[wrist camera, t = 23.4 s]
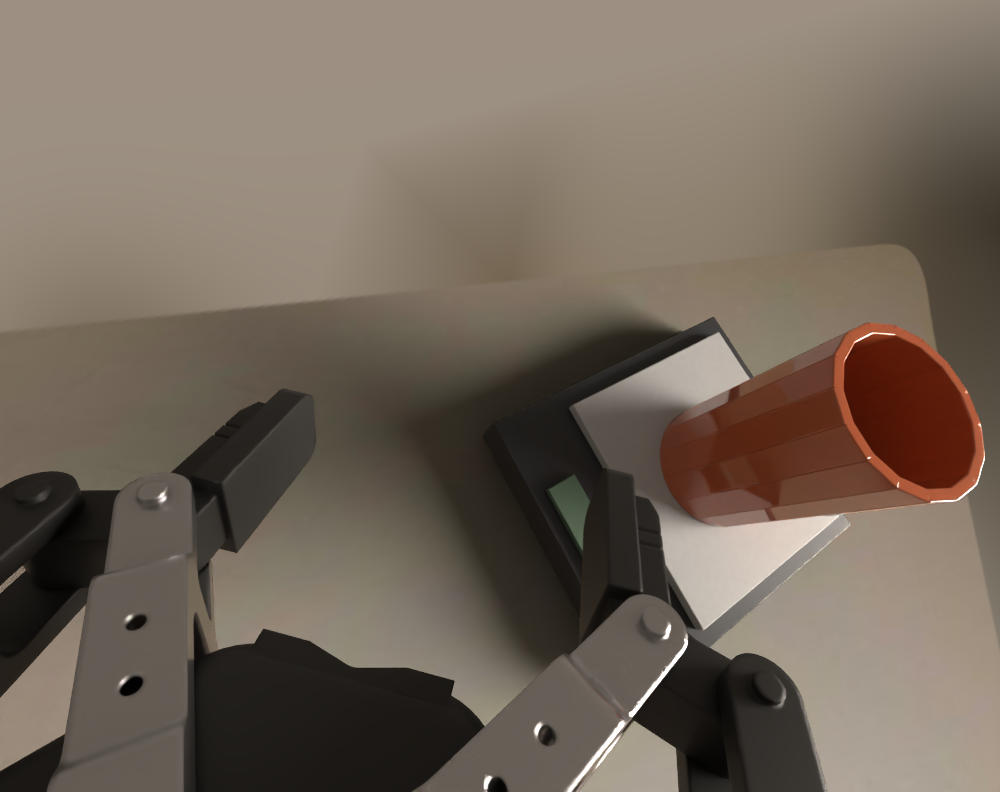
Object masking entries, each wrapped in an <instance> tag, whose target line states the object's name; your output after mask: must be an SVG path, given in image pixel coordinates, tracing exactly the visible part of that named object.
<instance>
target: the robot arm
mask: <svg viewBox="0 0 1000 792" xmlns="http://www.w3.org/2000/svg"><path fill="white" fill-rule="evenodd" d="M315 444H316V429H315V413H314V400H313V397H312V396H311V395H309V394H305V393H301V392H296V391H292V390H288V389H281V390H279V391H278V392H277V393H276V394H275V395H274V396H273V397H272V398H271V399H270V400H269V401H267V402H266V403H262V402H257V403H255V404H253V405H251V406H249V407H247V408H244V409H242V410H240V411H239V412H238V413H237V414H236V415H234V416H233V417H232V418H231V419H230V420H229V421H228V422H227V423H226V425H225V426H224V425H223V426H222V427H221V428H220V429H219V430H218V431H217V432H215V435H214V436H211V437H210V438H209V439H208V440H207V441H205V442H204V443H203V444H202V445H201V446H200V447H199V448H198V449H197V450H195V451H194V452H193V453H192V454H191V455H190V456H189V457H188V458H187V459H185V460H184V461H183V462H182V463H181V464H180V465H179V466H178V467H177V468H175V469H174V470H173V471H172V472H171V473H156V474H151V475H147V476H144V477H141V478H139V479H137V480H135V481H133V482H131V483H129V484H128V485H127V486H125V487H124V488H123V489H122V490H99V491H80V488H79V486H78V484H77V482H76V480H75V478H74V477H73V476H71V475H69V474H67V473H63V472H53V471H50V472H41V473H35V474H31V475H28V476H25V477H22V478H19V479H17V480H14V481H12V482H10V483H9V484H7V485H5V486H4V487H2V488H1V489H0V585H1V584H2V583H3V582H5V581H6V580H7V579H8V578H9V577H10V576H11V575H12V574H14V573H15V572H16V571H17V570H18V569H19V568H20V567H21V566H22V565H23V566H24V568H25V570H26V571H25V572H24V573H23V574H21V575H20V576H19V577H18V578H17V579H16V580H15V581H14V582H13V583H12V584H10V585H9V586H8V587H7V588H6V589H5V590H4V591H3V592H2V593H1V594H0V697H1V696H2V695H3V694H4V693H5V692H6V691H7V690H8V689H9V687H10V686H11V685H12V684H13V683H14V682H15V681H16V680H17V679H18V678H19V676H20V675H21V674H22V673H23V672H24V671H25V670H26V669H27V668H28V667H29V666H30V664H31V663H32V662H33V661H34V660H35V659H36V658H37V657H38V656H39V655H40V654H41V652H42V651H43V650H44V649H45V648H46V647H47V646H48V645H49V644H50V643H51V642H52V640H53V639H54V638H55V637H56V636H57V635H58V634H59V633H60V632H61V631H62V629H63V628H64V627H65V626H66V625H67V624H68V623H69V622H70V621H71V620H72V619H73V617H74V616H75V615H76V614H77V613H78V612H79V611H80V610H81V609H82V608H83V607H84V605H85V604H86V603H87V604H86V610H85V616H84V622H83V628H82V634H81V640H80V647H79V653H78V659H77V665H76V671H75V677H74V683H73V689H72V696H71V702H70V708H69V714H68V720H67V726H66V732H65V734H64V735H62V736H61V737H59V738H57V739H55V740H54V741H52V742H50V743H48V744H47V745H45V746H43V747H42V748H40V749H38V750H36V751H35V752H33V753H31V754H29V755H28V756H26V757H24V758H22V759H21V760H19V761H17V762H15V763H14V764H12V765H10V766H9V767H7V768H5V769H3V770H2V771H0V792H579V791H580V790H581V788H582V787H583V786H584V784H585V783H586V782H587V780H588V779H589V778H590V776H591V775H592V774H593V773H594V771H595V770H596V769H597V768H598V766H599V765H600V764H601V762H602V761H603V760H604V759H605V757H606V756H607V755H608V754H609V752H610V751H611V750H612V749H613V747H614V746H615V745H616V743H617V742H618V741H619V740H620V738H621V737H622V736H623V735H624V733H625V732H626V731H627V729H628V728H629V727H630V726H631V724H632V723H633V722H634V721H636V722H637V723H639V724H640V725H642V726H643V727H645V728H646V729H648V730H649V731H651V732H652V733H654V734H655V735H657V736H658V737H660V738H661V739H663V740H665V741H666V742H668V743H669V744H671V745H672V746H674V747H675V748H676V754H677V770H678V787H679V792H828V790H827V786H826V783H825V779H824V775H823V772H822V768H821V765H820V761H819V757H818V754H817V750H816V746H815V743H814V739H813V735H812V732H811V728H810V724H809V721H808V717H807V714H806V710H805V706H804V703H803V700H802V697H801V694H800V692H799V690H798V688H797V687H796V685H795V684H794V682H793V681H792V680H791V678H790V677H789V676H788V675H787V674H786V673H785V672H784V671H783V670H782V669H781V668H780V667H779V666H777V665H776V664H775V663H773V662H772V661H770V660H768V659H766V658H764V657H762V656H759V655H756V654H751V653H744V654H740V655H737V656H736V657H735V658H733V660H730V659H728V658H727V657H725V656H723V655H721V654H720V653H718V652H716V651H714V650H713V649H711V648H709V647H707V646H706V645H704V644H702V643H701V642H699V641H698V640H696V639H695V638H694V637H693V636H691V635H690V634H689V633H688V632H687V630H686V626H685V624H684V622H683V620H682V619H681V617H680V616H679V614H678V613H677V612H676V611H675V610H674V609H673V608H672V605H671V600H670V592H669V585H668V578H667V570H666V563H665V556H664V550H663V541H662V536H661V526H660V519H659V515H658V513H657V511H656V509H655V508H654V506H653V504H652V503H651V501H650V499H648V498H644V497H640V496H636V495H635V486H634V477H633V475H632V474H629V473H625V472H621V471H617V470H613V469H609V468H604V469H603V470H602V473H601V475H600V478H599V480H598V483H597V485H596V488H595V491H594V493H593V496H592V499H591V501H590V504H589V506H588V509H587V513H586V517H585V522H584V530H583V554H582V580H581V605H580V630H579V645H580V646H579V647H578V648H576V649H575V650H574V651H573V652H572V653H571V654H569V655H568V654H567V653H564V654H562V655H561V656H559V657H558V658H557V659H555V660H554V661H553V662H552V663H551V664H550V665H549V666H548V667H547V668H546V669H545V670H544V671H543V672H542V673H541V674H540V675H539V676H537V677H536V678H535V679H534V680H533V681H532V682H531V683H530V684H529V685H528V686H527V687H526V688H525V689H524V690H523V691H522V692H521V693H520V694H519V695H518V696H516V697H515V698H514V699H513V700H512V701H511V702H510V703H509V704H508V705H507V706H506V707H505V708H504V709H503V710H502V711H501V712H500V713H499V714H498V715H497V716H495V717H494V718H493V719H492V720H491V721H490V722H489V723H488V724H487V725H486V726H484V725H483V724H482V722H481V721H480V719H479V718H478V717H477V716H476V715H475V714H474V713H473V712H472V711H471V710H470V709H469V708H468V707H467V706H466V705H464V704H463V703H462V702H461V701H459V700H458V699H456V698H454V697H453V696H451V694H452V690H453V685H454V680H450V679H446V678H443V677H439V676H435V675H432V674H428V673H424V672H421V671H417V670H413V669H410V668H354V667H350V666H348V665H347V664H345V663H343V662H342V661H340V660H339V659H337V658H336V657H334V656H332V655H331V654H329V653H328V652H326V651H324V650H323V649H321V648H320V647H318V646H316V645H315V644H313V643H312V642H310V641H307V640H303V639H300V638H296V637H292V636H289V635H285V634H281V633H278V632H274V631H270V630H267V629H263V630H262V632H261V634H260V635H259V637H258V638H257V640H256V642H255V643H254V644H243V645H236V646H231V647H227V648H223V649H220V650H218V646H217V640H216V633H215V618H214V597H213V577H212V563H211V558H212V557H213V556H214V554H215V553H216V552H217V551H218V549H219V548H220V549H223V550H227V551H231V552H235V553H237V552H238V551H239V550H240V548H241V547H242V546H243V545H244V543H245V542H246V541H247V539H248V538H249V537H250V536H251V534H252V533H253V532H254V530H255V529H256V528H257V527H258V525H259V524H260V523H261V522H262V520H263V519H264V518H265V516H266V515H267V514H268V513H269V511H270V510H271V509H272V507H273V506H274V505H275V504H276V502H277V501H278V500H279V498H280V497H281V496H282V495H283V493H284V492H285V491H286V489H287V488H288V487H289V486H290V484H291V483H292V482H293V480H294V479H295V478H296V477H297V475H298V474H299V473H300V471H301V470H302V469H303V468H304V466H305V465H306V464H307V463H308V461H309V460H310V458H311V456H312V454H313V452H314V448H315Z"/></svg>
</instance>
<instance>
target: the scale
mask: <svg viewBox="0 0 1000 792" xmlns="http://www.w3.org/2000/svg"><path fill="white" fill-rule="evenodd" d="M751 378H753V375H752V374H751V372H750V371H749V369H748V368H747V366H746V365H745V363H744V362H743V360H742V359H741V357H740V356H739V354H738V353H737V351H736V350H735V348H734V347H733V345H732V344H731V342H730V340H729V339H728V337H727V336H726V334H725V333H724V331H723V330H722V328H721V327H720V325H719V324H718V322H717V321H716V319H715V318H714V317H712V318H710V319H708V320H706V321H704V322H702V323H700V324H698V325H696V326H694V327H692V328H689V329H687V330H685V331H683V332H681V333H679V334H677V335H675V336H673V337H671V338H669V339H667V340H665V341H663V342H660V343H658V344H656V345H654V346H652V347H650V348H648V349H646V350H644V351H642V352H640V353H638V354H636V355H633V356H631V357H629V358H627V359H625V360H623V361H621V362H619V363H617V364H615V365H613V366H611V367H609V368H606V369H604V370H602V371H600V372H598V373H596V374H594V375H592V376H590V377H588V378H586V379H584V380H582V381H579V382H577V383H575V384H573V385H571V386H569V387H567V388H565V389H563V390H561V391H559V392H557V393H555V394H553V395H550V396H548V397H546V398H544V399H542V400H540V401H538V402H536V403H534V404H532V405H530V406H528V407H526V408H523V409H521V410H519V411H517V412H515V413H513V414H511V415H509V416H507V417H505V418H503V419H501V420H499V421H496V422H494V423H493V424H492V425H491V426H490V427H489V428H488V429H487V431H486V432H485V433H484V434H483V435H482V437H483V439H484V440H485V442H486V444H487V446H488V448H489V450H490V452H491V454H492V455H493V457H494V459H495V461H496V463H497V465H498V467H499V469H500V470H501V472H502V474H503V476H504V478H505V480H506V482H507V484H508V485H509V487H510V489H511V491H512V493H513V495H514V497H515V499H516V500H517V502H518V504H519V506H520V508H521V510H522V512H523V514H524V515H525V517H526V519H527V521H528V523H529V525H530V527H531V529H532V530H533V532H534V534H535V536H536V538H537V540H538V542H539V544H540V545H541V547H542V549H543V551H544V553H545V555H546V557H547V558H548V560H549V562H550V564H551V566H552V568H553V570H554V572H555V573H556V575H557V577H558V579H559V581H560V583H561V585H562V587H563V588H564V590H565V592H566V594H567V596H568V598H569V600H570V602H571V603H572V605H573V607H574V609H575V611H576V613H577V615H578V617H579V618H580V605H581V580H582V554H583V530H584V522H585V517H586V513H587V509H588V506H589V504H590V501H591V499H592V496H593V493H594V491H595V488H596V485H597V483H598V480H599V478H600V475H601V473H602V470H603V469H604V468H609V469H613V470H617V471H621V472H625V473H629V474H632V475H633V477H634V486H635V495H636V496H640V497H644V498H648V499H650V501H651V503H652V504H653V506H654V508H655V509H656V511H657V513H658V515H659V519H660V526H661V536H662V541H663V550H664V556H665V563H666V570H667V578H668V585H669V592H670V600H671V605H672V608H673V609H674V610H675V611H676V612H677V613H678V614H679V616H680V617H681V619H682V620H683V622H684V624H685V626H686V630H687V632H688V633H689V634H690V635H691V636H693V637H694V638H695V639H696V640H698V641H699V642H701V643H702V644H704V645H706V646H707V647H710V646H711V645H713V644H714V643H715V642H716V641H717V640H718V639H719V638H721V637H722V636H723V635H724V634H725V633H726V632H728V631H729V630H730V629H731V628H732V627H733V626H734V625H736V624H737V623H738V622H739V621H740V620H741V619H742V618H744V617H745V616H746V615H747V614H748V613H749V612H751V611H752V610H753V609H754V608H755V607H756V606H757V605H759V604H760V603H761V602H762V601H763V600H764V599H766V598H767V597H768V596H769V595H770V594H771V593H772V592H774V591H775V590H776V589H777V588H778V587H779V586H780V585H782V584H783V583H784V582H785V581H786V580H787V579H789V578H790V577H791V576H792V575H793V574H794V573H795V572H797V571H798V570H799V569H800V568H801V567H802V566H804V565H805V564H806V563H807V562H808V561H809V560H810V559H812V558H813V557H814V556H815V555H816V554H817V553H818V552H820V551H821V550H822V549H823V548H824V547H825V546H827V545H828V544H829V543H830V542H831V541H832V540H833V539H835V538H836V537H837V536H838V535H839V534H840V533H842V532H843V531H844V530H845V529H846V528H847V527H848V526H850V523H849V522H848V520H847V519H846V517H845V516H844V514H843V515H835V516H826V517H817V518H808V519H800V520H791V521H782V522H773V523H765V524H756V525H747V526H734V527H716V526H711V525H708V524H705V523H703V522H701V521H699V520H697V519H696V518H694V517H693V516H691V515H690V514H689V513H688V512H686V511H685V510H684V509H683V508H682V507H681V506H680V505H679V504H678V502H677V501H676V500H675V498H674V497H673V495H672V494H671V492H670V490H669V488H668V486H667V484H666V482H665V479H664V476H663V473H662V469H661V463H660V446H661V441H662V437H663V434H664V432H665V429H666V428H667V426H668V424H669V423H670V422H671V421H672V419H673V418H675V417H676V416H677V415H678V414H680V413H681V412H683V411H685V410H687V409H689V408H691V407H693V406H695V405H697V404H700V403H702V402H704V401H706V400H708V399H710V398H712V397H714V396H716V395H718V394H720V393H722V392H724V391H726V390H728V389H730V388H732V387H734V386H737V385H739V384H741V383H743V382H745V381H747V380H749V379H751Z"/></svg>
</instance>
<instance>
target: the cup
mask: <svg viewBox="0 0 1000 792" xmlns="http://www.w3.org/2000/svg"><path fill="white" fill-rule="evenodd" d="M984 457H985V454H984V445H983V435H982V427H981V423H980V421H979V418H978V416H977V413H976V410H975V408H974V405H973V403H972V400H971V398H970V396H969V393H968V392H967V390H966V388H965V387H964V385H963V384H962V383H961V381H960V380H959V378H958V377H957V375H956V374H955V373H954V371H953V369H952V368H951V367H950V365H949V364H948V363H947V362H946V360H945V359H943V358H942V357H941V356H940V355H939V354H938V353H937V352H936V351H935V350H933V349H932V348H931V347H930V346H929V345H928V344H927V343H926V342H925V341H923V340H922V339H921V338H919V337H917V336H915V335H913V334H911V333H909V332H907V331H905V330H903V329H901V328H899V327H897V326H895V325H892V324H880V323H864V324H862V325H860V326H858V327H856V328H854V329H852V330H850V331H848V332H846V333H844V334H842V335H839V336H837V337H835V338H833V339H831V340H829V341H827V342H825V343H823V344H821V345H819V346H817V347H815V348H813V349H811V350H809V351H807V352H804V353H802V354H800V355H798V356H796V357H794V358H792V359H790V360H788V361H786V362H784V363H782V364H780V365H778V366H776V367H774V368H772V369H769V370H767V371H765V372H763V373H761V374H759V375H757V376H755V377H753V378H751V379H749V380H747V381H745V382H743V383H741V384H739V385H737V386H734V387H732V388H730V389H728V390H726V391H724V392H722V393H720V394H718V395H716V396H714V397H712V398H710V399H708V400H706V401H704V402H702V403H700V404H697V405H695V406H693V407H691V408H689V409H687V410H685V411H683V412H681V413H680V414H678V415H677V416H676V417H675V418H673V419H672V421H671V422H670V423H669V424H668V426H667V428H666V429H665V432H664V434H663V437H662V441H661V446H660V463H661V469H662V473H663V476H664V479H665V482H666V484H667V486H668V488H669V490H670V492H671V494H672V495H673V497H674V498H675V500H676V501H677V502H678V504H679V505H680V506H681V507H682V508H683V509H684V510H685V511H686V512H688V513H689V514H690V515H691V516H693V517H694V518H696V519H697V520H699V521H701V522H703V523H705V524H708V525H711V526H716V527H734V526H747V525H756V524H765V523H773V522H782V521H791V520H800V519H808V518H817V517H826V516H835V515H843V514H852V513H861V512H870V511H878V510H887V509H896V508H905V507H913V506H922V505H931V504H940V503H948V502H956V501H958V500H959V499H961V498H962V497H963V496H964V495H965V494H967V493H968V492H969V491H970V490H971V489H973V487H975V486H976V484H977V483H978V479H979V476H980V473H981V469H982V466H983V463H984Z"/></svg>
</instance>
